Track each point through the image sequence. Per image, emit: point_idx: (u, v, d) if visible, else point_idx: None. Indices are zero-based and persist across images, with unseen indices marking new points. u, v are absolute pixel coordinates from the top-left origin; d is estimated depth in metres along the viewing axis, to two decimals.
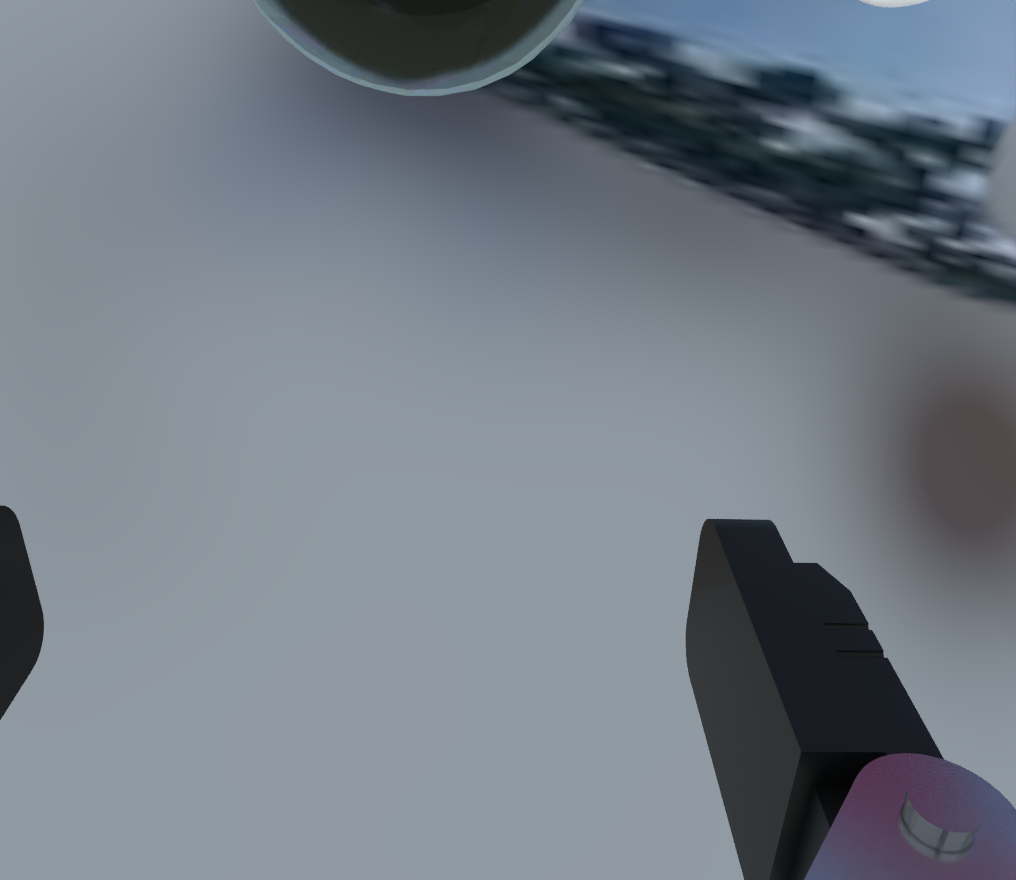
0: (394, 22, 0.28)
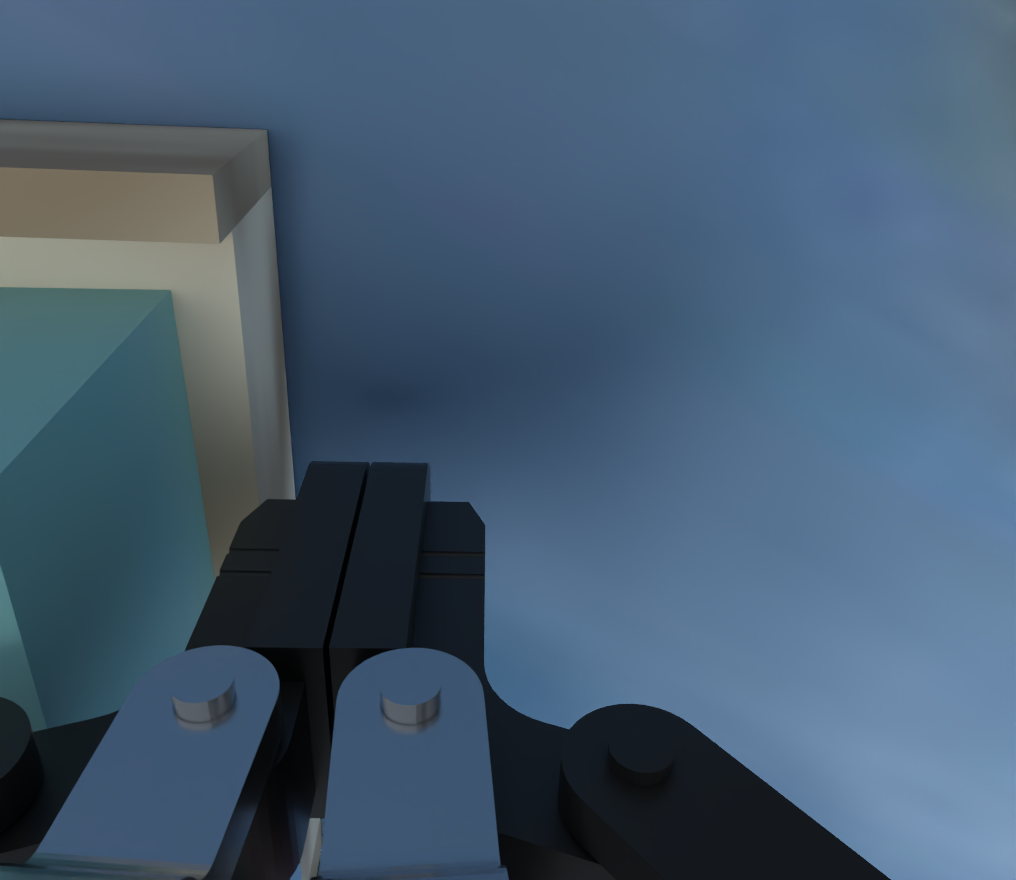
0: None
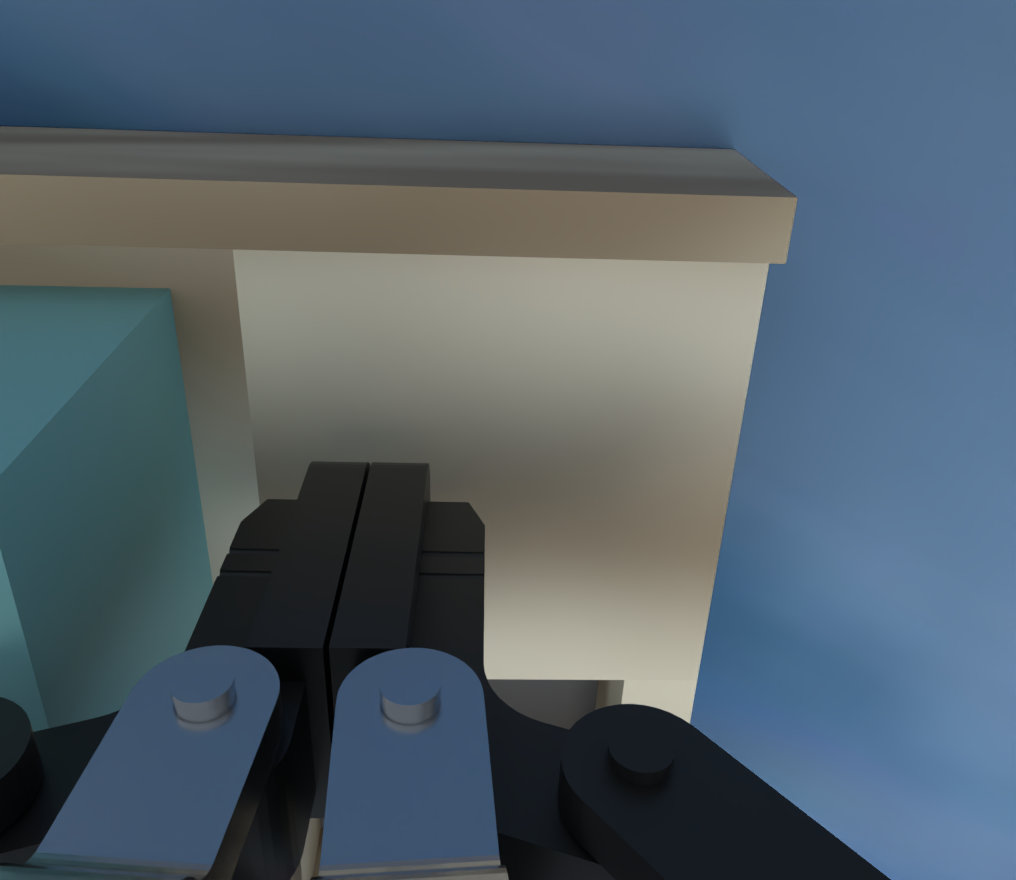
0: None
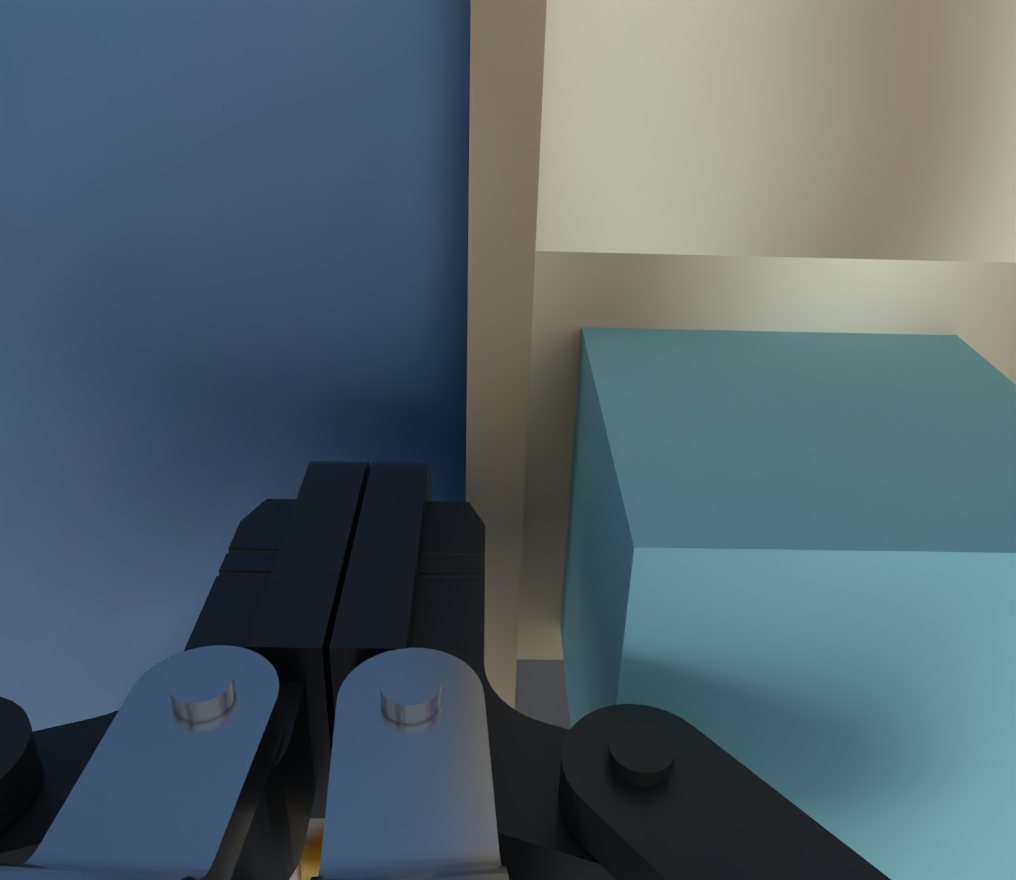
0: None
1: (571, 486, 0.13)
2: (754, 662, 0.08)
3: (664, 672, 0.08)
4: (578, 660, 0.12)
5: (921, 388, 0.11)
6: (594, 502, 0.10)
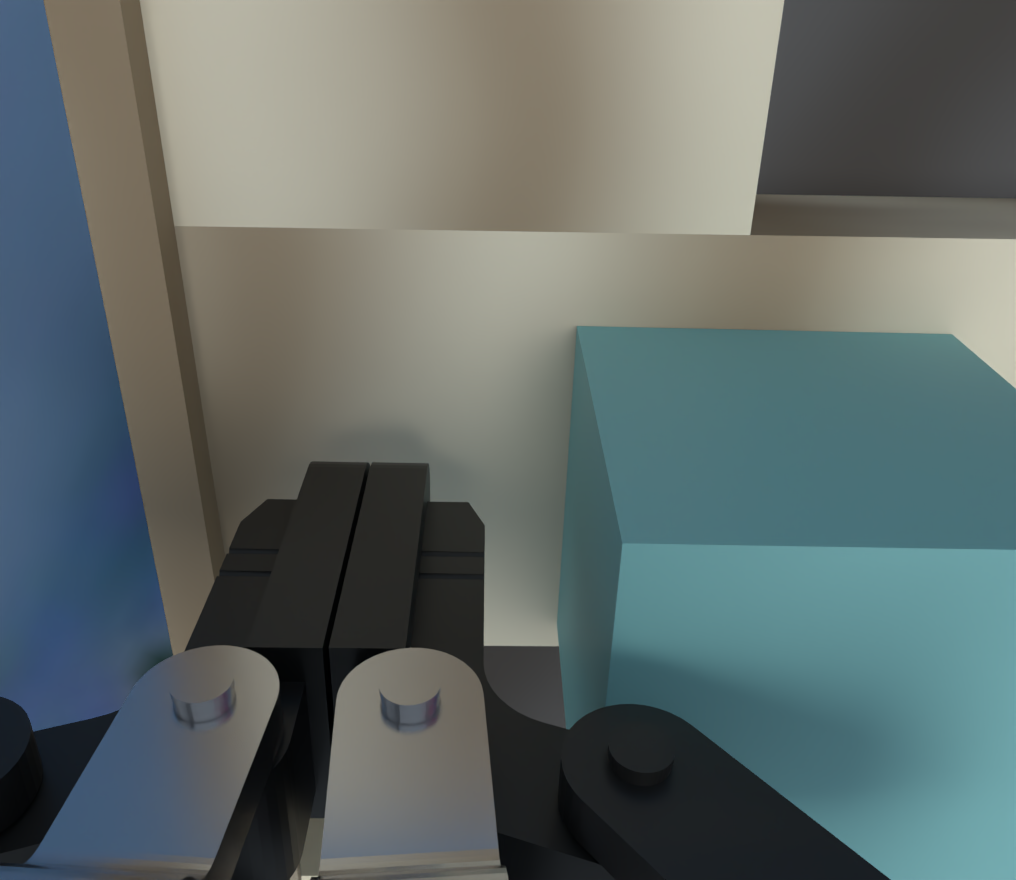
0: None
1: (567, 484, 0.13)
2: (743, 658, 0.08)
3: (653, 667, 0.08)
4: (572, 657, 0.12)
5: (914, 386, 0.11)
6: (587, 500, 0.10)
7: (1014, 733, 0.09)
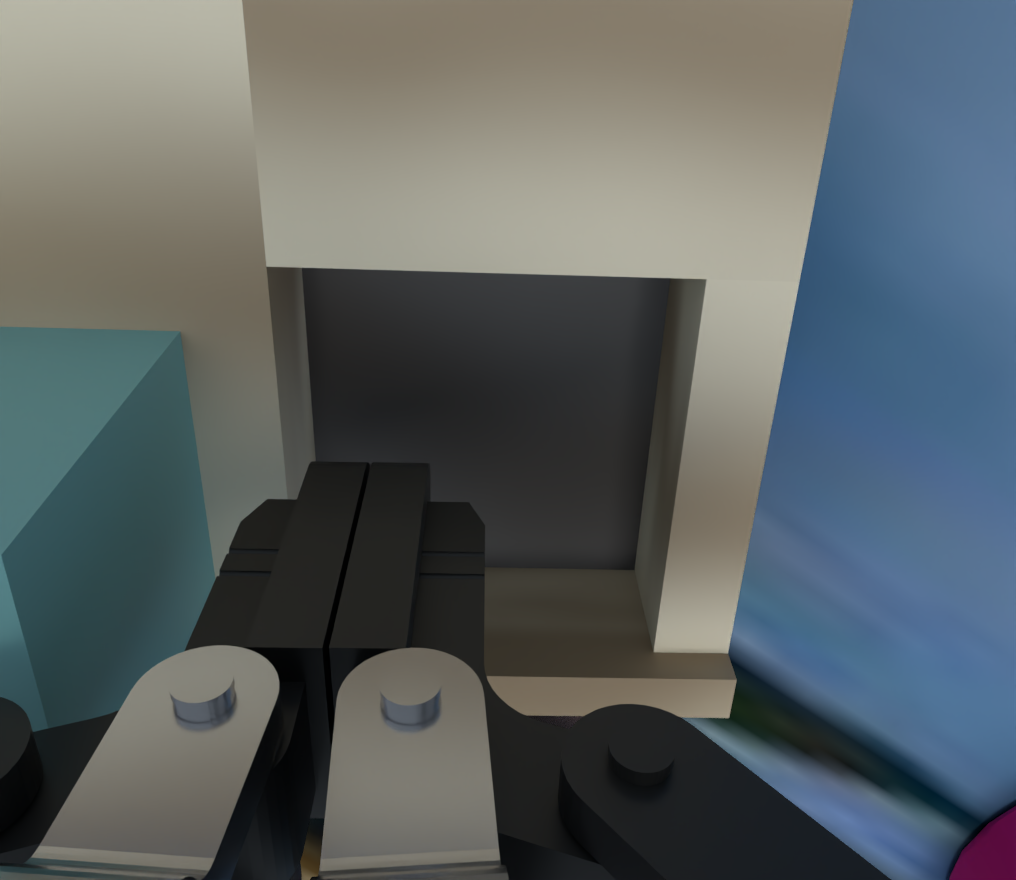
0: None
1: None
2: None
3: None
4: None
5: (180, 645, 0.12)
6: (2, 416, 0.10)
7: None
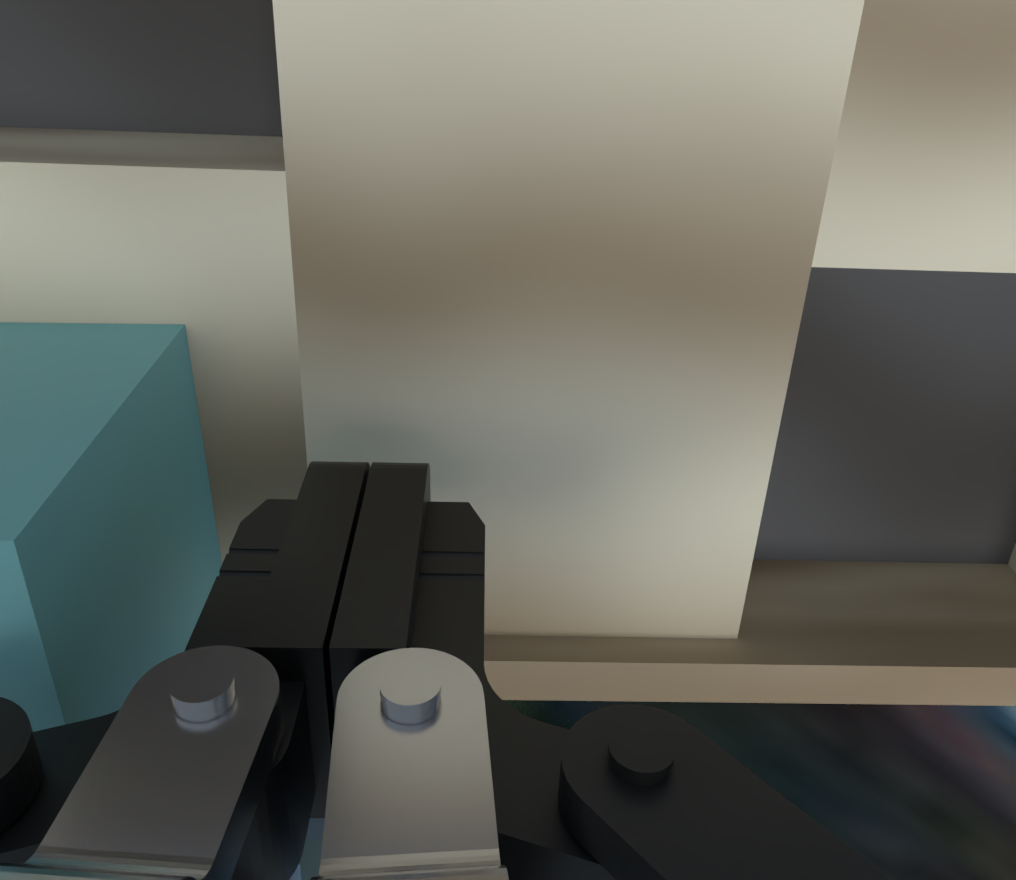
0: None
1: None
2: None
3: None
4: None
5: (189, 636, 0.12)
6: (11, 408, 0.10)
7: None
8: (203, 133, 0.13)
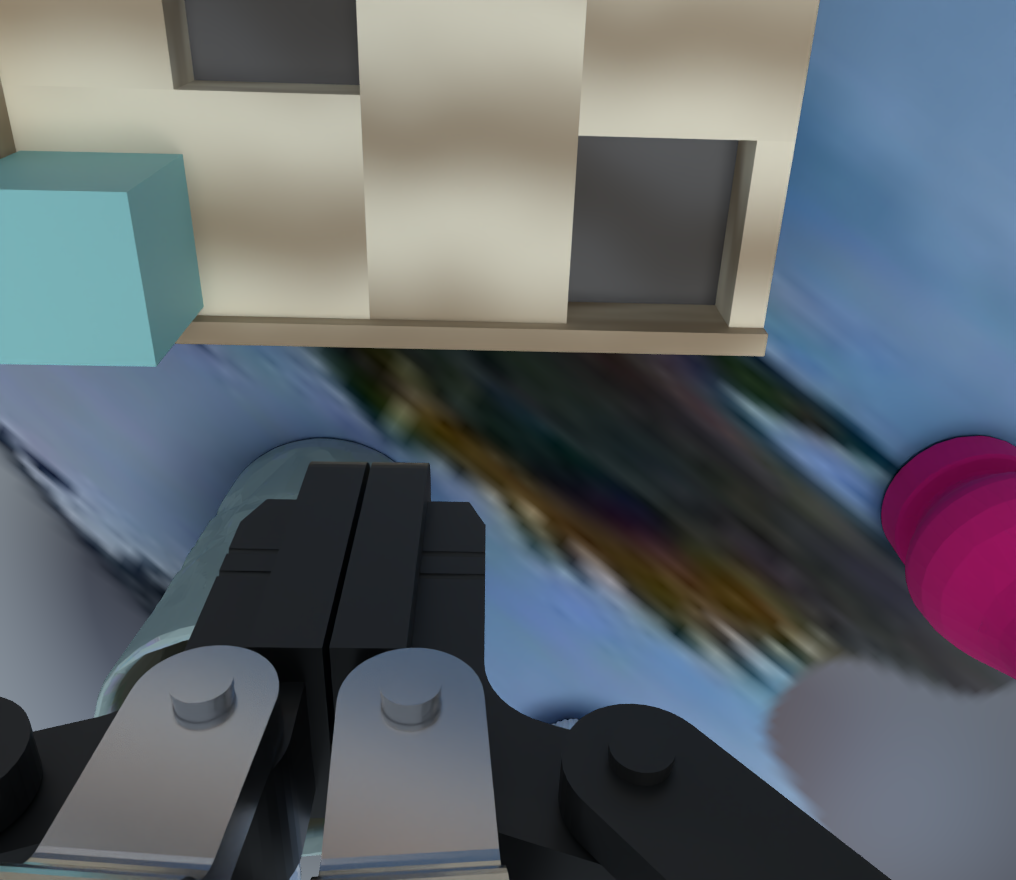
0: None
1: (104, 153, 0.28)
2: (87, 236, 0.25)
3: (77, 206, 0.24)
4: (31, 167, 0.27)
5: (183, 289, 0.29)
6: (117, 170, 0.26)
7: (75, 331, 0.26)
8: (320, 83, 0.30)
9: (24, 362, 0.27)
